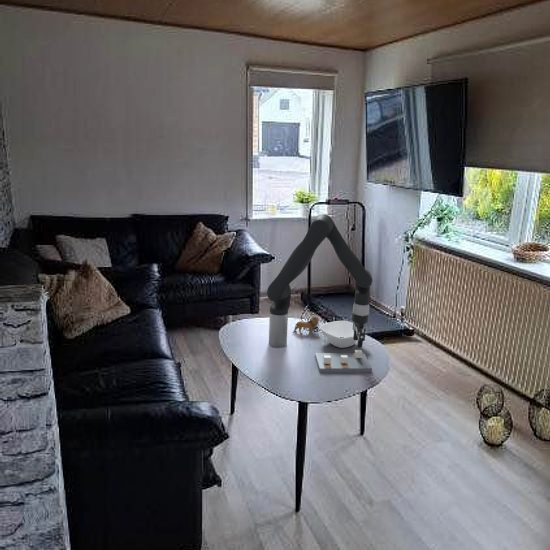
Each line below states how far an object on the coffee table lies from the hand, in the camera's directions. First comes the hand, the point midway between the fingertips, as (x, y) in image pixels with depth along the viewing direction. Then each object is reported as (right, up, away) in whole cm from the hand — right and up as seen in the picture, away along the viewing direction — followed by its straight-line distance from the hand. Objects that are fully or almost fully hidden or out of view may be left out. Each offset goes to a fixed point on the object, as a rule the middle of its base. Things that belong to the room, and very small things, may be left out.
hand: (357, 343), depth 237 cm
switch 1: (-16, -8, -8) cm, 19 cm away
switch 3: (0, -6, -1) cm, 6 cm away
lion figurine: (-23, +1, +31) cm, 39 cm away
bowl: (-5, -3, +18) cm, 19 cm away
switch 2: (-8, -8, -7) cm, 13 cm away
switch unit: (-8, -9, -4) cm, 13 cm away
